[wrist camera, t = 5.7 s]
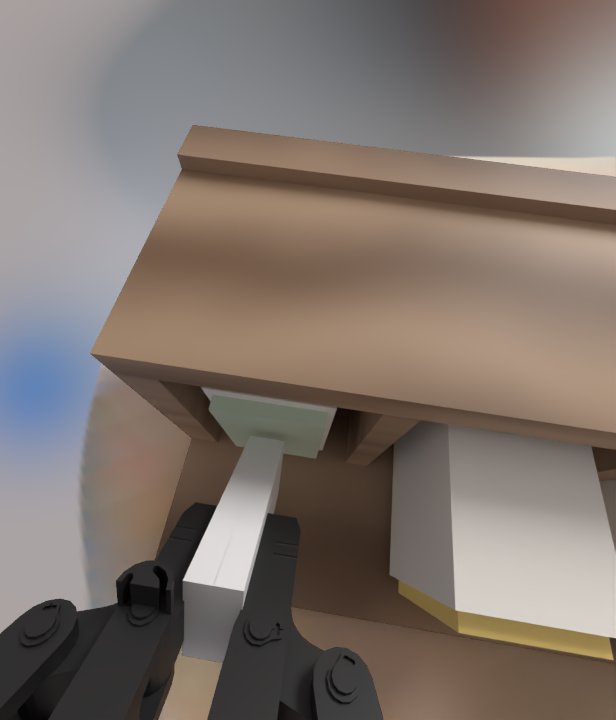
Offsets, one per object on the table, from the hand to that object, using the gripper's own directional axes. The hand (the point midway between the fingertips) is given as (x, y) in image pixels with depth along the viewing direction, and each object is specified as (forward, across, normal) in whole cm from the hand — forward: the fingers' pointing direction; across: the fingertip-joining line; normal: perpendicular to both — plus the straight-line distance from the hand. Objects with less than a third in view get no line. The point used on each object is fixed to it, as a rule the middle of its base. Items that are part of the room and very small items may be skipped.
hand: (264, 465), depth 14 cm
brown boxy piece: (+5, +9, -2) cm, 11 cm away
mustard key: (+3, +9, -3) cm, 10 cm away
